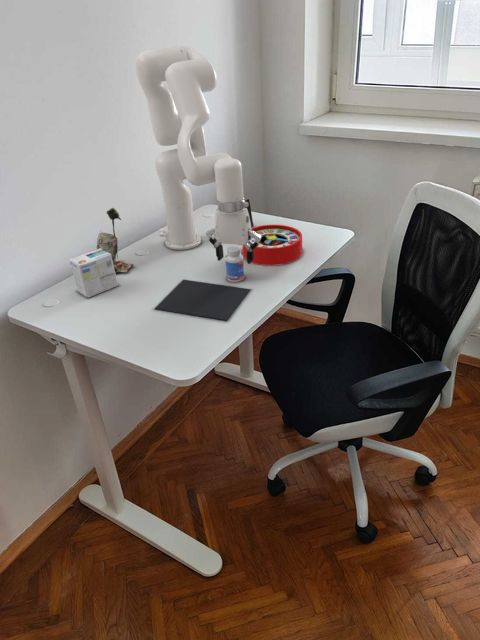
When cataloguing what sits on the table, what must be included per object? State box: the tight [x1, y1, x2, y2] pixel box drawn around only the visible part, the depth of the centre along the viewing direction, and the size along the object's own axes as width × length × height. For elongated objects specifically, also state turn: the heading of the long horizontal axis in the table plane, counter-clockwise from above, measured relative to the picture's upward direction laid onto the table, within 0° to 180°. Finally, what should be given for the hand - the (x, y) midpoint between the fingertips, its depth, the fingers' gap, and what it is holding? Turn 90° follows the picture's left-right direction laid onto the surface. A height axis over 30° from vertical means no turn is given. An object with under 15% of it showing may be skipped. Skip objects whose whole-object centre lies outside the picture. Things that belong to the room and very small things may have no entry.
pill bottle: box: [225, 245, 245, 283], centre depth 158 cm, size 6×5×10 cm
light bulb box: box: [68, 248, 119, 299], centre depth 155 cm, size 11×7×11 cm, turn 134°
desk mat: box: [154, 279, 251, 322], centre depth 151 cm, size 22×18×1 cm
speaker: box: [244, 198, 255, 228], centre depth 193 cm, size 8×6×10 cm
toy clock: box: [242, 224, 303, 266], centre depth 174 cm, size 20×6×20 cm
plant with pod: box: [96, 207, 134, 274], centre depth 163 cm, size 8×11×20 cm
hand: (235, 260), depth 157 cm, fingers open, 9 cm apart
